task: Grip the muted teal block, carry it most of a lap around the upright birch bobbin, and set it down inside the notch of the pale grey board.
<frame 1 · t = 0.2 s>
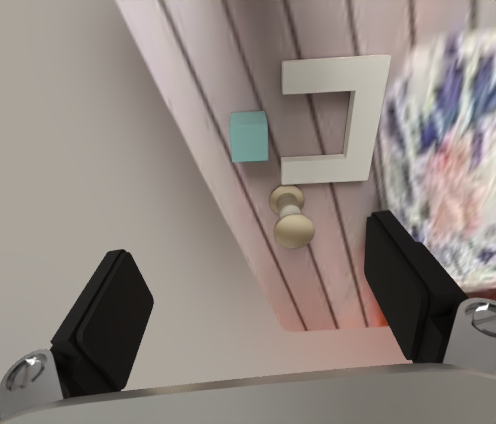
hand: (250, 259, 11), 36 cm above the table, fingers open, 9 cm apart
bobbin: (286, 199, 51), on the table
notched board: (326, 124, 44), on the table
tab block: (248, 128, 44), on the table
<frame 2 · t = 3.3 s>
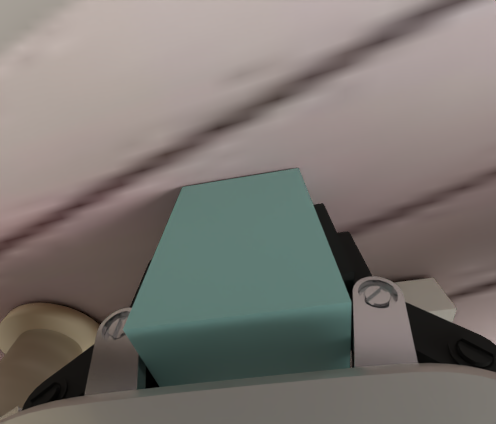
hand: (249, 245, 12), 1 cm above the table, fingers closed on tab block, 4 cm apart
bobbin: (58, 336, 18), on the table
notched board: (279, 368, 20), on the table
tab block: (249, 225, 13), on the table, touching gripper
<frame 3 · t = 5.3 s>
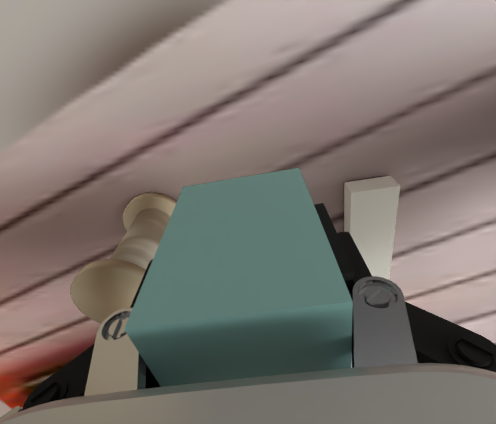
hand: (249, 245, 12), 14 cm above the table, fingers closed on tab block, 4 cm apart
bobbin: (157, 219, 28), on the table
notched board: (295, 249, 30), on the table
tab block: (250, 225, 13), point 12 cm above the table, touching gripper
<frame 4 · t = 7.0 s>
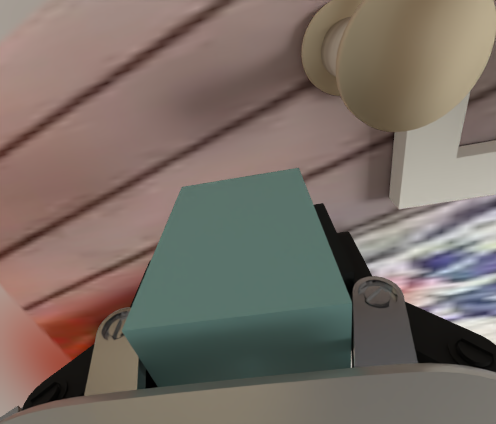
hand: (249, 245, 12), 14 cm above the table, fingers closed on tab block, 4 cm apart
bobbin: (344, 48, 20), on the table
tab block: (249, 225, 13), point 12 cm above the table, touching gripper
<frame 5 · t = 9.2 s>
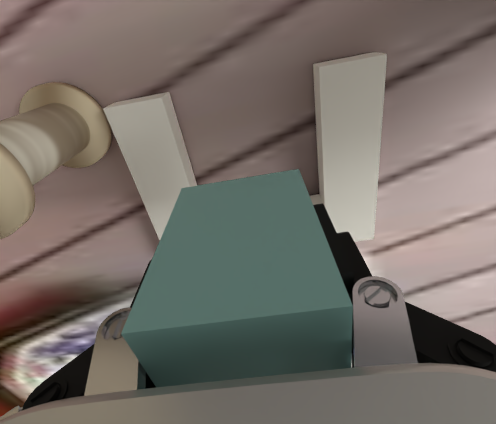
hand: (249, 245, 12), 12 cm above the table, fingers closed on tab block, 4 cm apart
bobbin: (70, 126, 21), on the table
notched board: (255, 171, 23), on the table
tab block: (249, 226, 13), point 10 cm above the table, touching gripper
when the fingers open (3 cm above the table, at t = 11.0 s): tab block drops 2 cm, on the table.
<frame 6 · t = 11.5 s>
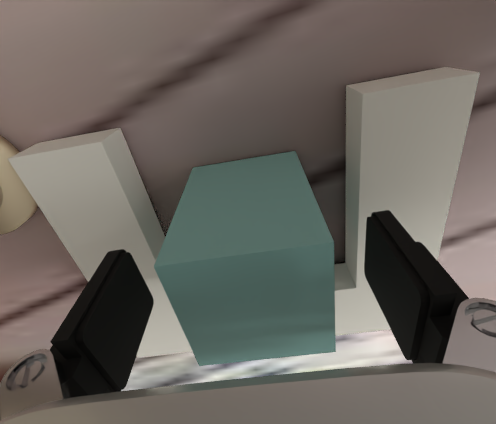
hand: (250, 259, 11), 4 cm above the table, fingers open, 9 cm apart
notched board: (255, 235, 16), on the table
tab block: (251, 203, 15), on the table
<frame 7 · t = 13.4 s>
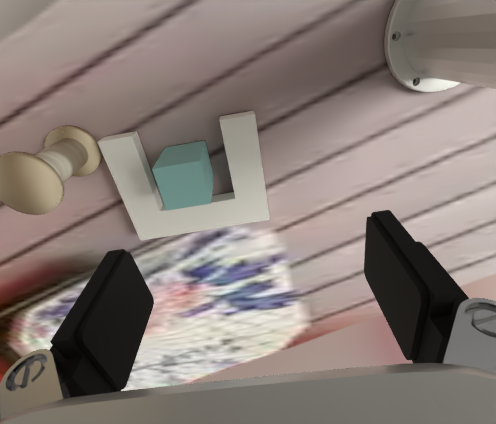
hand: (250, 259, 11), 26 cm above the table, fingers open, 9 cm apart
bobbin: (75, 150, 35), on the table
notched board: (193, 177, 37), on the table
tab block: (190, 162, 36), on the table
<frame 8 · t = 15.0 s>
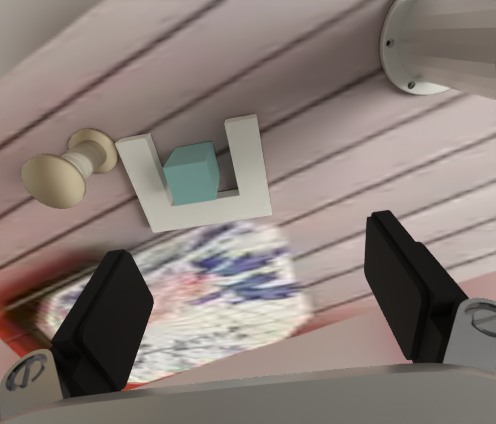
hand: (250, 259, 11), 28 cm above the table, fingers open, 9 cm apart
bobbin: (95, 150, 38), on the table
notched board: (201, 175, 40), on the table
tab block: (198, 162, 39), on the table
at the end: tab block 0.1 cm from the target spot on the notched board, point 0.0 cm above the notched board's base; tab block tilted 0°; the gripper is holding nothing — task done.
